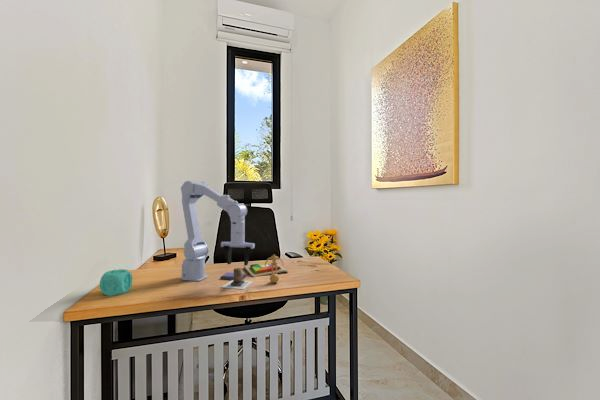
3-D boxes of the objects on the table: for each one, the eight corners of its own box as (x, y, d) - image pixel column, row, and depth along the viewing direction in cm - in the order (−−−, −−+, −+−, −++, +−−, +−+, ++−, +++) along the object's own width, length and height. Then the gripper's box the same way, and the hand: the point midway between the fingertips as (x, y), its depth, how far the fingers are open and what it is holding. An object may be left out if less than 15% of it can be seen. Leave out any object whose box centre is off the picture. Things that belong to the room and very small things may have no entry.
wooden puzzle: (243, 269, 146) (243, 262, 146) (277, 265, 153) (277, 259, 153) (250, 278, 130) (250, 270, 130) (288, 273, 137) (288, 266, 137)
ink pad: (220, 279, 127) (220, 276, 127) (227, 274, 133) (227, 272, 133) (240, 280, 125) (240, 277, 125) (247, 276, 131) (247, 273, 131)
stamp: (230, 285, 117) (230, 270, 117) (234, 282, 121) (234, 267, 121) (240, 286, 116) (240, 270, 116) (244, 282, 121) (244, 267, 121)
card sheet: (221, 287, 115) (221, 287, 115) (232, 280, 125) (232, 279, 125) (244, 289, 113) (244, 288, 113) (253, 281, 123) (253, 281, 123)
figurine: (264, 284, 119) (265, 256, 119) (264, 280, 125) (264, 253, 125) (284, 283, 121) (284, 256, 120) (283, 279, 127) (283, 253, 126)
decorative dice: (112, 289, 113) (111, 269, 113) (132, 288, 113) (132, 269, 113) (99, 296, 105) (99, 275, 105) (121, 295, 105) (121, 274, 105)
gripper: (217, 233, 116) (217, 265, 116) (250, 234, 113) (250, 267, 113) (225, 230, 123) (225, 261, 123) (256, 232, 120) (256, 263, 120)
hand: (237, 264), depth 119 cm, fingers open, 7 cm apart
